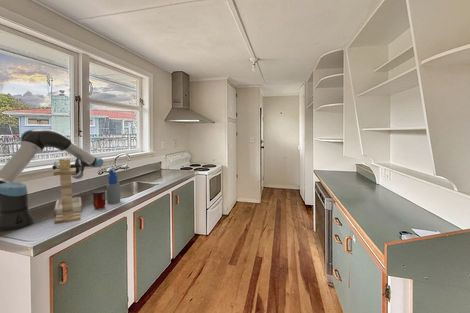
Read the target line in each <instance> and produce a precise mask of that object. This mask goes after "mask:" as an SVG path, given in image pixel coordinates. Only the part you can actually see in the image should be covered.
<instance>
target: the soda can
mask: <svg viewBox="0 0 470 313" xmlns="http://www.w3.org/2000/svg"><path fill="white" fill-rule="evenodd" d="M92 195H93V196H92V197H93V207H94V208H95V209H94V210H101V209H104V208H105V207H106V203H107V201H106V190H104V189H97V190H94V191H93V192H92Z"/></svg>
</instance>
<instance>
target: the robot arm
mask: <svg viewBox="0 0 470 313" xmlns="http://www.w3.org/2000/svg"><path fill="white" fill-rule="evenodd" d="M19 143H20V147H19V148H18V149H17V150H16V151H15V153H14V154H13V155H12V156H11V157H10V159H9V160H7V162H6V163H5V164H4V166H3V167H2V168H1V169H0V231H11V230H17V229H21V228H25V227H28V226H30V225H31V224H33V223H34V217H33V215H32V213H31V211H30V208H29V202H28V201H29V199H28V198H29V197H28V189H27V188H28V187H27V185H26V184H25V183H23V182H15V181H16V180H17V179H18V177H20V176H21V174H22V173H23V171H24V170H25V168H26V167H27V166H28V165H29V163H30V162H31V161H32V160H33V158H34V157H35V156H36V154H38V153H42V151H43V150H44V149H45V148H52V149H53V148H55V149H57V150H59V151H64V152H66V153H68V154H70V155H71V156H73V157H74V158H76V159H75V161H74V164H75V165H74V164H70V168H76V174H71V178H73V179H74V178H75V179H74V180H80V179H82V178H83V177H84V171H85V168H102V167H103V165H104V160H103V158H99V157H95V156H94V155H92V154H91V153H89V151H86V150H85V149H83V148H82V147H80V146H79V145H77V144H75V143H74V142H72V139H71V138H69V136H66V135H64V134H63V133H61V132H59V131H55V130H52V129H36V128H34V129H33V128H32V129H28V130H26V131H23V133H22V134H21V136H20V142H19ZM55 169H60V168H59V162H57V161H54V164H53V165H52V170H55Z"/></svg>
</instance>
